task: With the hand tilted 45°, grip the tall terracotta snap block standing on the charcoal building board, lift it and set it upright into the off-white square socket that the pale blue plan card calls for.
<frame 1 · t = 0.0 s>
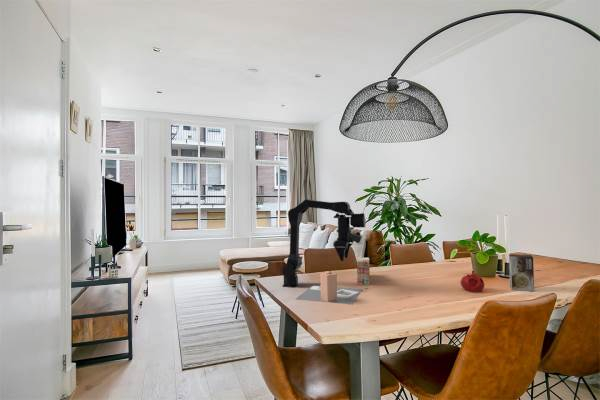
hand: (344, 259, 161), 15 cm above the table, tool pointing down, fingers open, 9 cm apart
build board: (330, 296, 151), on the table
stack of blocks: (363, 280, 180), on the table
coffee box: (521, 289, 157), on the table
column block: (328, 299, 142), point 1 cm above the table, touching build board
pomegranate: (472, 291, 156), on the table
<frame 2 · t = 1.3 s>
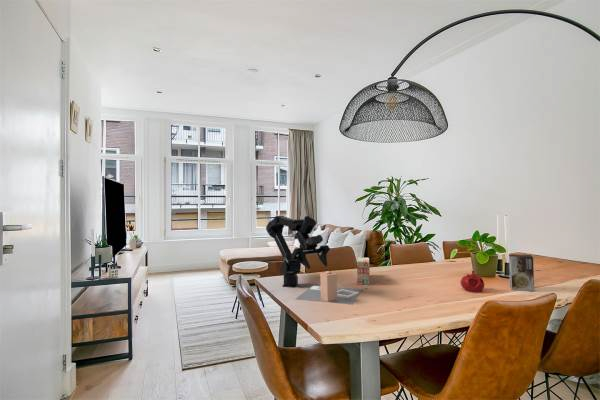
hand: (318, 267, 149), 13 cm above the table, tool tilted 45°, fingers open, 9 cm apart
nothing on the table moved.
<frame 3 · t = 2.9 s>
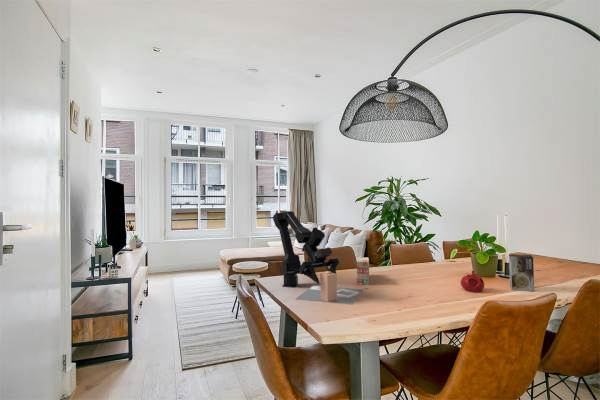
hand: (327, 281, 143), 8 cm above the table, tool tilted 45°, fingers open, 9 cm apart
nothing on the table moved.
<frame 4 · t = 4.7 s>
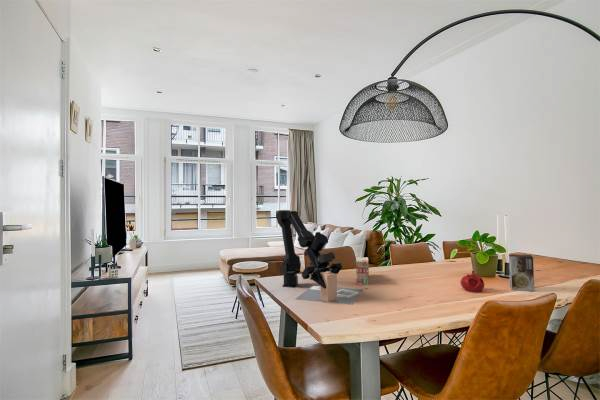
hand: (330, 287, 141), 7 cm above the table, tool tilted 45°, fingers closed on column block, 5 cm apart
column block: (328, 299, 142), point 1 cm above the table, touching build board, gripper
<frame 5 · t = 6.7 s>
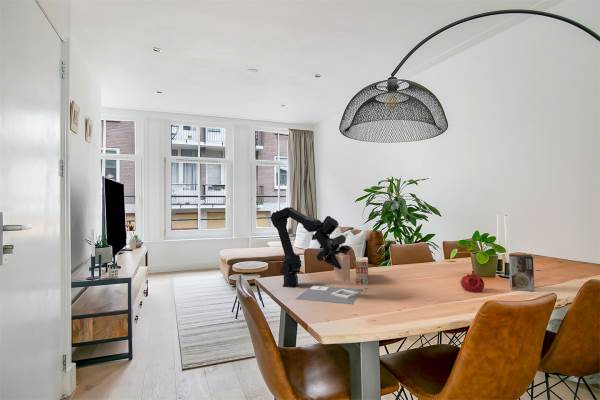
hand: (344, 267, 147), 13 cm above the table, tool tilted 45°, fingers closed on column block, 5 cm apart
column block: (342, 280, 148), point 8 cm above the table, touching gripper
when the fingers open (7 cm above the table, at t = 9.2 s): column block stays where it is, resting on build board.
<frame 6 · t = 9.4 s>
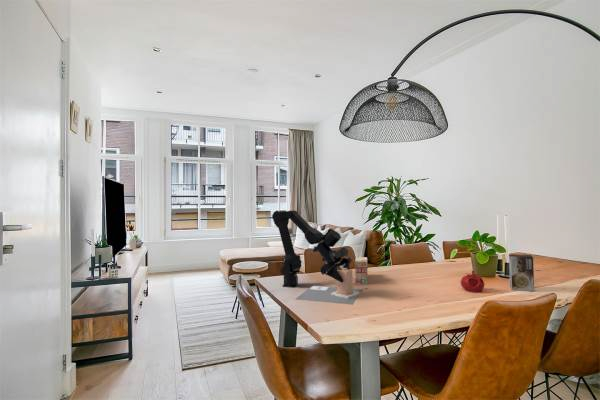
hand: (347, 280, 149), 8 cm above the table, tool tilted 45°, fingers open, 7 cm apart
column block: (345, 294, 149), point 1 cm above the table, touching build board
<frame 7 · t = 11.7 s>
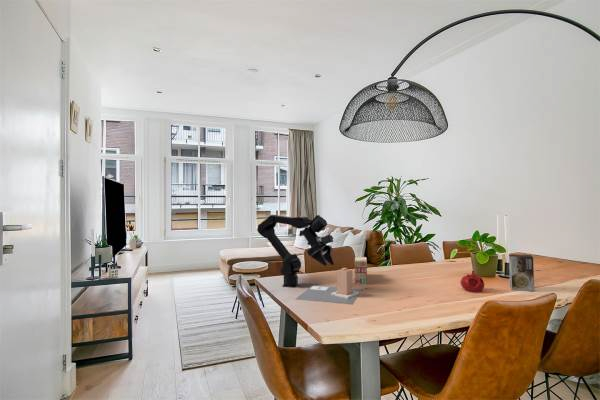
hand: (329, 265, 157), 13 cm above the table, tool tilted 40°, fingers open, 9 cm apart
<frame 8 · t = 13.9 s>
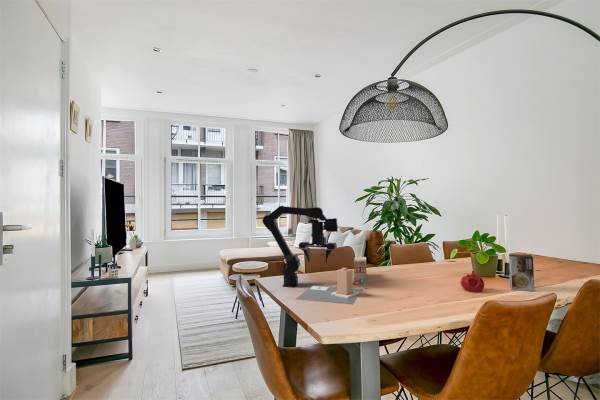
hand: (317, 262, 169), 12 cm above the table, tool pointing down, fingers open, 9 cm apart
at the end: column block 0.0 cm from the target spot, point 1.0 cm above the table; column block tilted 0°; the gripper is holding nothing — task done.
